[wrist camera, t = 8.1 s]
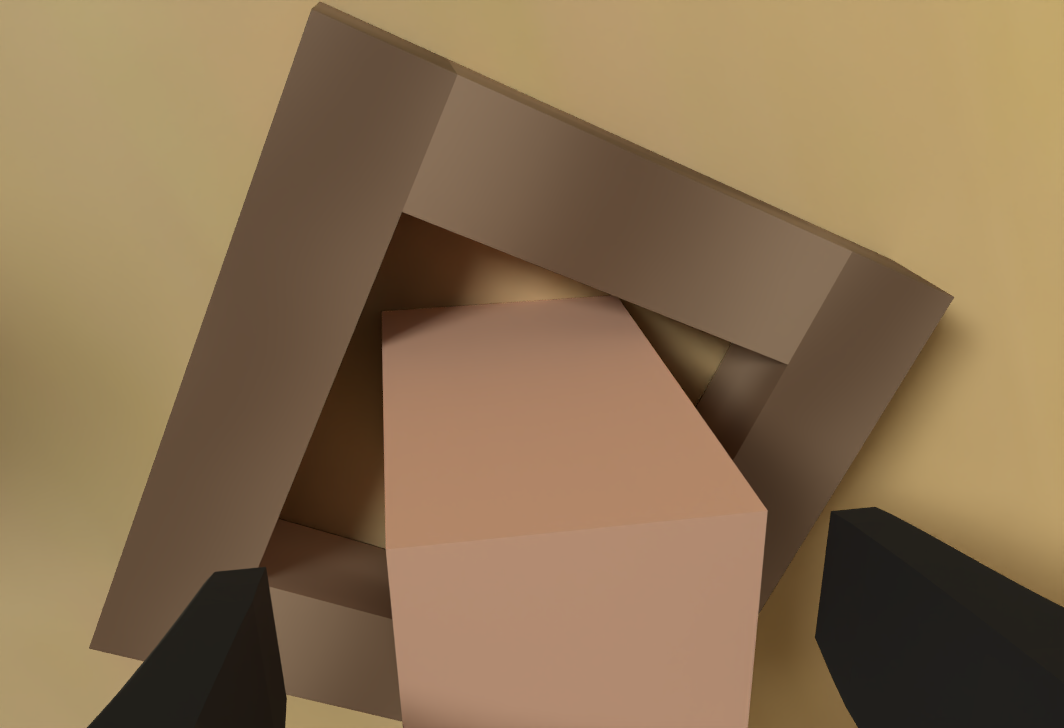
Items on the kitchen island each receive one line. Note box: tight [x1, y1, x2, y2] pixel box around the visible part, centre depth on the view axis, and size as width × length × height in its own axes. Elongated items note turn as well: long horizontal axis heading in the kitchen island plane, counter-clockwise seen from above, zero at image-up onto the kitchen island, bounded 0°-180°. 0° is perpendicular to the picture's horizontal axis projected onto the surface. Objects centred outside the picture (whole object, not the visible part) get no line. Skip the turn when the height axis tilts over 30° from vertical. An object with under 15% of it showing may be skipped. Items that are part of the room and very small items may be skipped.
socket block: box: [89, 2, 954, 721], centre depth 16 cm, size 10×10×2 cm
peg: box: [382, 295, 768, 728], centre depth 14 cm, size 4×4×7 cm
